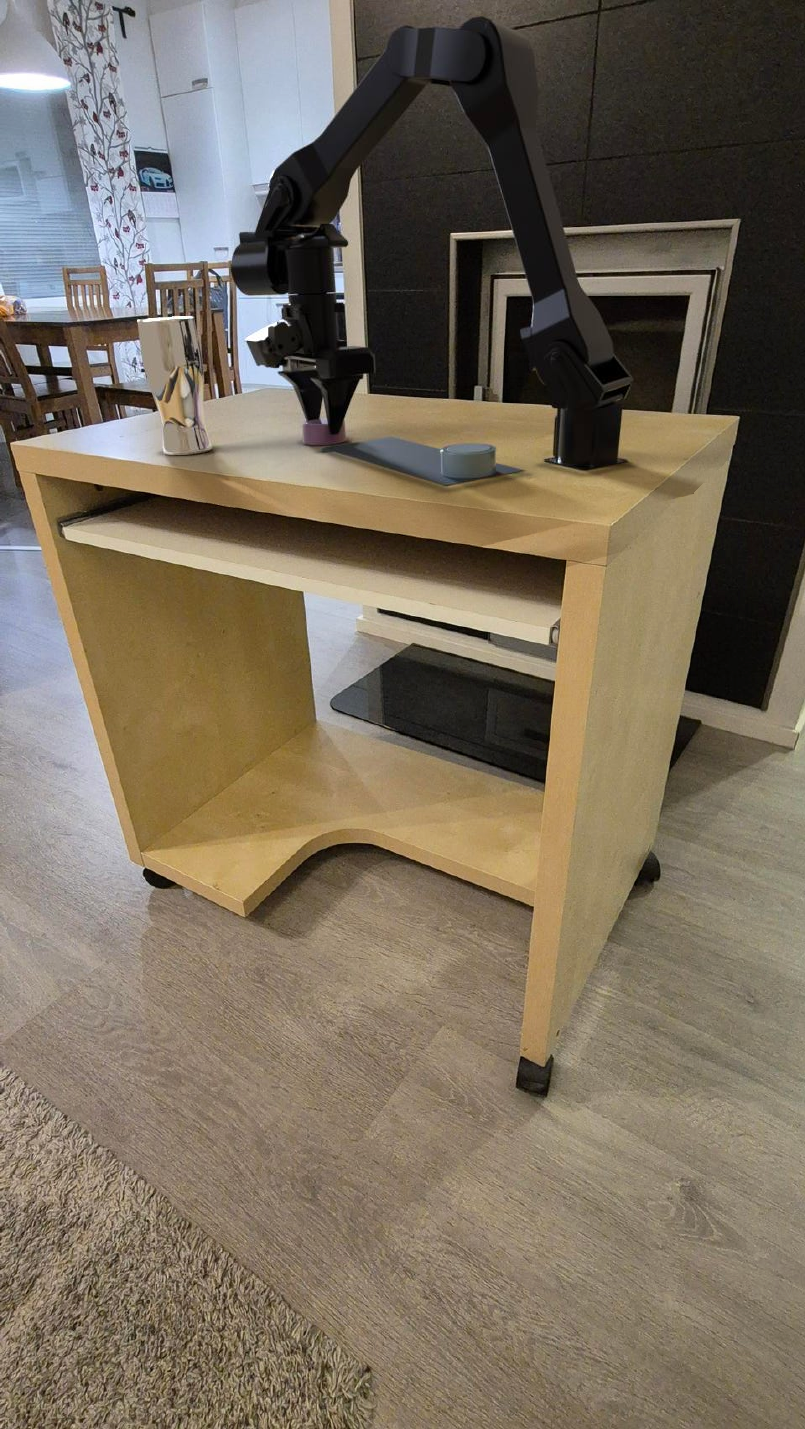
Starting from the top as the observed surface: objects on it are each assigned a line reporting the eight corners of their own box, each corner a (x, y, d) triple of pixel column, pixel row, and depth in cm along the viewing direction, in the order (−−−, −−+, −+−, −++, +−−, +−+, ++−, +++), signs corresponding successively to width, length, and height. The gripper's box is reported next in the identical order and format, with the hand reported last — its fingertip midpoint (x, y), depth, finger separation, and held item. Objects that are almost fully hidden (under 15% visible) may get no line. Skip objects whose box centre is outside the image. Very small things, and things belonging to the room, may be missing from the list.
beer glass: (201, 456, 95) (179, 319, 87) (149, 456, 96) (123, 321, 88) (224, 445, 100) (205, 316, 93) (175, 445, 102) (152, 318, 94)
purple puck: (354, 441, 99) (352, 421, 98) (315, 447, 97) (313, 426, 96) (333, 435, 104) (331, 416, 102) (295, 441, 101) (293, 421, 100)
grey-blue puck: (507, 473, 78) (507, 448, 77) (462, 481, 76) (462, 456, 75) (473, 464, 83) (473, 440, 81) (430, 472, 80) (430, 447, 79)
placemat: (524, 475, 79) (524, 470, 79) (445, 491, 75) (445, 485, 75) (391, 440, 99) (391, 436, 98) (322, 451, 94) (321, 447, 94)
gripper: (219, 297, 95) (237, 430, 103) (283, 297, 81) (299, 450, 89) (300, 293, 100) (312, 420, 108) (374, 292, 86) (381, 438, 94)
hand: (323, 431), depth 100 cm, fingers closed on purple puck, 5 cm apart
